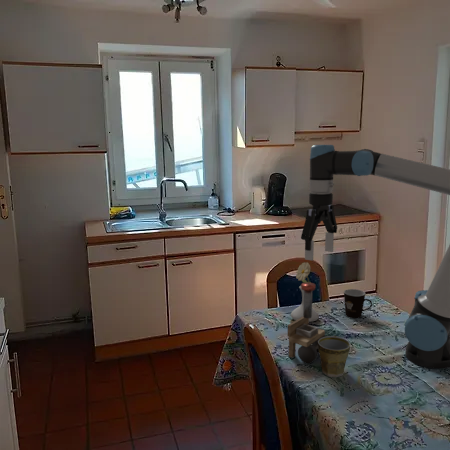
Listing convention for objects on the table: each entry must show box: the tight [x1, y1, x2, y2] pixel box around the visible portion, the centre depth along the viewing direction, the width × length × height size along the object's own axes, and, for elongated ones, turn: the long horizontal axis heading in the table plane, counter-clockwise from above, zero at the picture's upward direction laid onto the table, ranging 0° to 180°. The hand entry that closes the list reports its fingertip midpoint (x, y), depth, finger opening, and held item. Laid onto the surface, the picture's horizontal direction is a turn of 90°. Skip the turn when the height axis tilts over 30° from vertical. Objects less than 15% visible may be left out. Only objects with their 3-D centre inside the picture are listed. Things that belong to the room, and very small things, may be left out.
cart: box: [287, 317, 327, 364], centre depth 157 cm, size 10×12×12 cm
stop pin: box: [300, 282, 316, 318], centre depth 155 cm, size 5×5×11 cm
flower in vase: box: [290, 261, 320, 323], centre depth 185 cm, size 13×11×25 cm
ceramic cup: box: [318, 335, 351, 378], centre depth 147 cm, size 13×10×10 cm
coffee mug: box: [343, 288, 373, 319], centre depth 189 cm, size 12×9×10 cm
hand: (319, 255), depth 154 cm, fingers open, 13 cm apart
